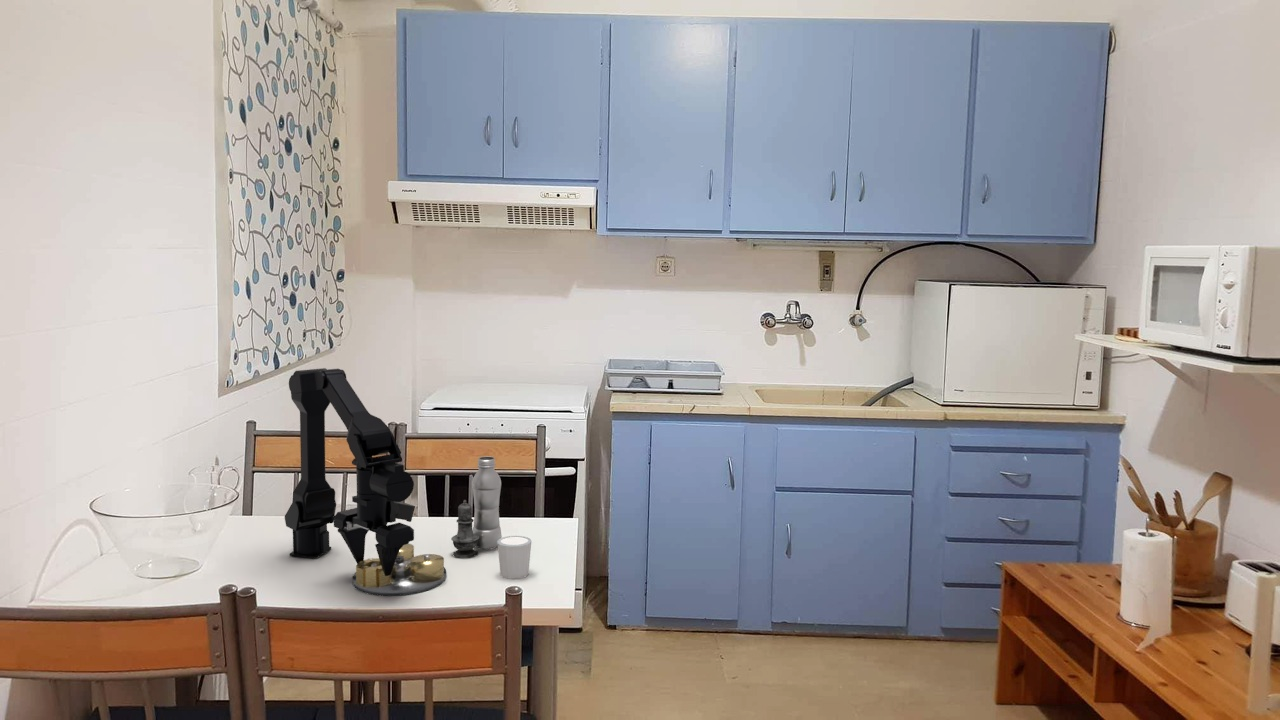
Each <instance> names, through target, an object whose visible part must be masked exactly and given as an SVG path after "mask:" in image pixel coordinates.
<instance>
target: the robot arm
mask: <svg viewBox="0 0 1280 720" xmlns="http://www.w3.org/2000/svg"><path fill="white" fill-rule="evenodd" d="M288 388H289V391H290V397H291V400H292V402H293V403H294V406H296V408H297V409H298V410H299V424H300V425H299V428H300V429H299V430H300V432H299V433H300V434H299V435H300V437H299V438H300V439H299V440H300V441H299V442H300V445H299V447H300V480H299V481H298V483H297V485H296V486H295V488H294V490H293V492H292V502H291V505H290V506H289V507H288V509H287V512H286V513H285V514H284V522H285V526H286V527H287V528H289V529H291V530H292V549H293V550H292V551H291V552H289V553H288V556H289V557H298V558H311V559H317V558H319V557H321V556H322V555H324V554H325V553H327V552H329V551H330V550H332V546H330V531H329V530H328V524H333V527H334V528H336V529H337V532H338V533H339V534H340V536H341V537H342V539H343V540H344V542H345V544H346V546H347V547H348V549H349V550H350V551H349V552H350V553H351V555H352V556H353V559H354V560H355V562H356V565H357V564H358V562H360V561H363V560H365V552H366V551H365V550H366V536H367V534H368V532H369V531H370V532H373V533H375V540H376V542H377V543H376V544H374V545H375V549H376V553H377V556H378V558H379V559H380V563H381V566H382V569H383V572H384V575H385V576H389V575H391V572H392V569H393V566H394V563H395V560H396V557H397V555H398V553H399V550H400V549H401V548H402V547H403V546H404V545H406V544H408V543H409V544H410V542H412V541H414V540H415V529H414V528H412V526H411V525H408V524H404V523H403V522H397V521H396V520H397V519H398V520H402V521H403V520H404V521H406V522H407V523H408V522H409V523H411V522H412V520H413V516H414V512H415V509H416V506H415V505H413V504H409V503H406V502H404V501H406V500H407V499H408V498H409V497H410V496H411V495H412V493H413V490H414V487H415V483H414V479H413V477H412V475H411V474H410V472H409V473H408V472H407V471H405V465H404V464H402V463H401V462H403V457H402V455H401V454H402V451H401V449H400V446H399V445H398V443H397V441H396V439H395V436H394V433H393V431H391V428H390V427H389V426H388V425H387V424H386V423H385V422H384V421H383V419H381V418H380V417H377V416H375V415H373V414H371V413H370V412H369V411H368V409H367V408H366V407H365V405H364V404H363V402H362V400H361V399H360V397H359V395H358V394H357V393H356V391H355V390H354V388H353V387H352V386H351V384H350V382H349V381H348V379H347V373H346V372H345V370H344V369H340V368H331V369H330V368H329V369H328V368H326V367H323V368H312V369H311V368H310V369H301V370H300V369H298V370H295V371H294V372H293V374H291V376H290V378H289V379H288ZM330 404H331V405H332V407H333V409H334V411H335V412H336V413H337V415H338V416H339V418H340V420H341V421H342V423H343V425H344V426H345V429H346V430H347V433H346V442H347V445H348V447H349V450H350V452H351V454H352V455H353V457H354V458H353V459H352V460H351V464H352V465H353V466H355V468H356V469H355V470H356V471H355V472H356V495H353V496H351V497H352V502H353V503H356V507H353V508H349V509H345V510H341V511H337V512H336V509H337V502H336V490H335V488H334V487H332V486H331V485H330V484H329V483H328V480H327V479H326V421H325V419H326V417H325V416H326V415H325V414H326V410H327V409H328V408H329V406H330ZM388 523H391V524H388ZM392 523H393V524H392Z"/></svg>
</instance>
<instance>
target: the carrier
mask: <svg viewBox="0 0 1280 720" xmlns="http://www.w3.org/2000/svg"><path fill="white" fill-rule="evenodd" d="M444 560H445V557H443V556H442V555H440V554H435V553H432V554H431V553H427V554H419V555H415V546H414V544H411V543H410V542H409V543H408V544H406V545H404V546H403V547H402V548H401V549H400V550H399V553H398V555H397V557H396V560H395V563H394V566H393V569H392V581H391V583H389V584H388V585H384V586H381V587H379V586H377V587H373V588H366V586H365V587H361V586H359V585H357V584H356V571H355V572H354V573H353V574H352V586H353V587H354V589H356V590H357V591H358V592H361V593H364V594H367V593H368V594H367V595H372V594H373V595H372V596H379V595H381V597H382V595H383V597H397V596H398V597H401V596H409V595H416V594H419V593H424V592H427V591H431V590H433V589H435V588H438V587H439V586H441V585H442V584H443V583H444V582H445V581H446V580H447V569H446V567H445V565H444V564H445V563H444V562H445V561H444ZM371 567H377V565H376V564H372V565H371Z"/></svg>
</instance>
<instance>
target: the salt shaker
mask: <svg viewBox="0 0 1280 720" xmlns="http://www.w3.org/2000/svg"><path fill="white" fill-rule="evenodd" d="M457 510H458V511H457V518H458V519H456V523H457V533H456V534H455V535H453V536H452V537H451V538H450V539H451V541H452V545H453V547H454V548H455V549H456V550H455V551H454V552H453V553H452V555H454V556H453V557H455V558H457V557H458V559H468V558H474V557H476V556H478V554H479V552H478V551H477V550H476V549H475V548H476V545H477V543H478V539H479V536H478V535H475V534H473V523H474V518H473V516H472V515H473V511H472V510H473V507H472V505H471V504H470V503H467V500H466V499H463V503H460V504H459V505H458V507H457Z"/></svg>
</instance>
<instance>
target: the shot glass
mask: <svg viewBox="0 0 1280 720" xmlns="http://www.w3.org/2000/svg"><path fill="white" fill-rule="evenodd" d="M497 543H498V547H497V549H498V550H497V552H498V563H499V571H500V572H499V573H500V576H501V577H502V578H503V579H504V578H505V579H509V580H516V579H523V578H525V576H526V577H527V576H528V575H529V573H530V572H529V571H530V563H531V562H530V561H531V559H530V558H531V553H532V552H531V550H532V539H531V538H530V537H527V536H523V535H509V536H504V537H501V538H500V539H499V540H498V541H497Z"/></svg>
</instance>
